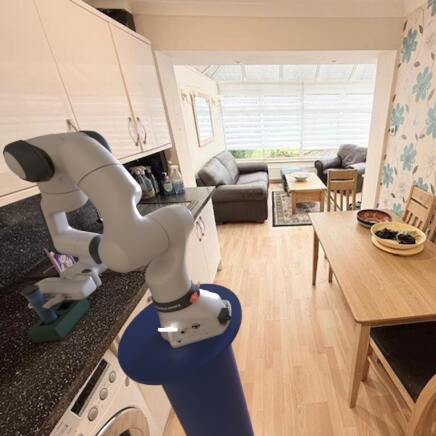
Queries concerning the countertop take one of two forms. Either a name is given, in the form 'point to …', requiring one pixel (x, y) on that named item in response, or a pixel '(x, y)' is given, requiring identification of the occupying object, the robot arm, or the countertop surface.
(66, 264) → the greeting card
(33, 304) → the handle
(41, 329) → the holder
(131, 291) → the countertop surface
